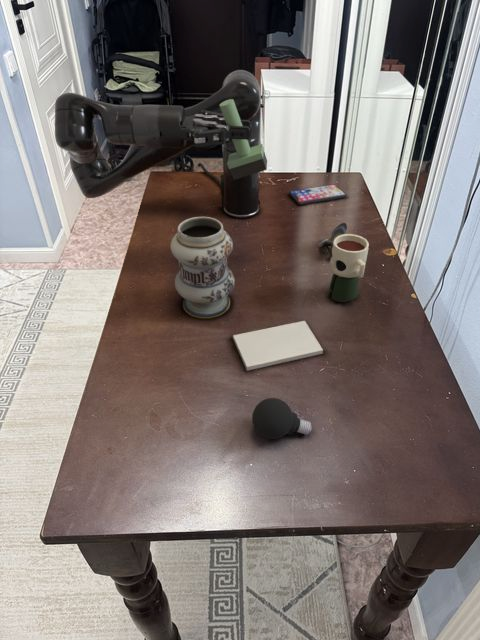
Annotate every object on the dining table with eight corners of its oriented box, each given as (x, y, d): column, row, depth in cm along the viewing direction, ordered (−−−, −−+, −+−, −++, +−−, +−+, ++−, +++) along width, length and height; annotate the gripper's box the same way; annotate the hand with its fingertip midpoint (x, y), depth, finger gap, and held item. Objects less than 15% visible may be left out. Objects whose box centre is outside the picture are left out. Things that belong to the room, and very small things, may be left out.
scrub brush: (233, 180, 100) (207, 112, 91) (235, 170, 103) (209, 104, 94) (267, 170, 98) (243, 100, 89) (267, 160, 101) (245, 92, 92)
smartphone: (347, 194, 139) (299, 202, 135) (346, 198, 140) (299, 206, 136) (335, 183, 144) (288, 190, 140) (334, 186, 145) (288, 193, 141)
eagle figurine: (354, 258, 115) (353, 232, 121) (341, 237, 111) (340, 211, 116) (324, 269, 119) (325, 243, 124) (310, 249, 114) (311, 224, 120)
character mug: (316, 285, 109) (322, 233, 100) (343, 278, 111) (352, 226, 102) (340, 314, 102) (349, 260, 93) (370, 306, 104) (381, 253, 95)
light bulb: (323, 427, 75) (262, 410, 72) (306, 457, 78) (247, 441, 75) (316, 401, 80) (259, 385, 78) (300, 430, 83) (245, 415, 81)
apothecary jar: (199, 280, 109) (193, 205, 97) (246, 298, 105) (245, 221, 93) (165, 309, 102) (154, 231, 89) (213, 329, 97) (209, 250, 85)
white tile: (246, 370, 89) (246, 367, 89) (232, 339, 96) (232, 335, 95) (322, 353, 93) (323, 349, 92) (304, 324, 99) (304, 320, 99)
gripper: (167, 133, 103) (250, 136, 103) (155, 160, 92) (248, 163, 92) (163, 94, 97) (251, 97, 98) (150, 118, 87) (248, 122, 87)
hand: (249, 129), depth 95 cm, fingers closed on scrub brush, 3 cm apart
